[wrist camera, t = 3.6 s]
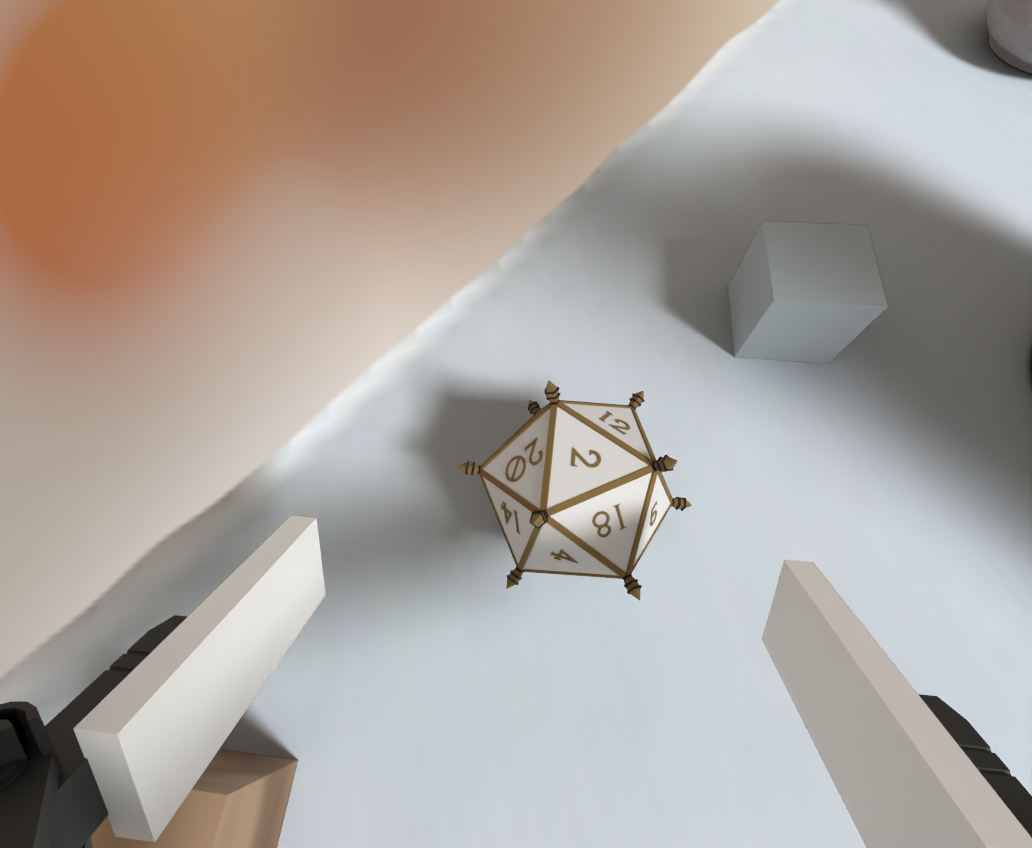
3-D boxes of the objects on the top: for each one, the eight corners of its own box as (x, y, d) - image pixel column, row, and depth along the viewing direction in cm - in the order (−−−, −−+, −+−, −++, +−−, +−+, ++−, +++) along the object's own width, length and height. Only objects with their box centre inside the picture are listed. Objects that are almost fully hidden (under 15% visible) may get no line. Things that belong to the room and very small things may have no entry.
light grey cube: (814, 291, 28) (867, 225, 24) (827, 364, 26) (888, 306, 22) (727, 287, 29) (762, 220, 24) (734, 358, 27) (774, 300, 22)
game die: (560, 562, 26) (471, 670, 17) (500, 418, 26) (382, 448, 17) (727, 516, 22) (729, 622, 13) (656, 348, 23) (610, 340, 14)
